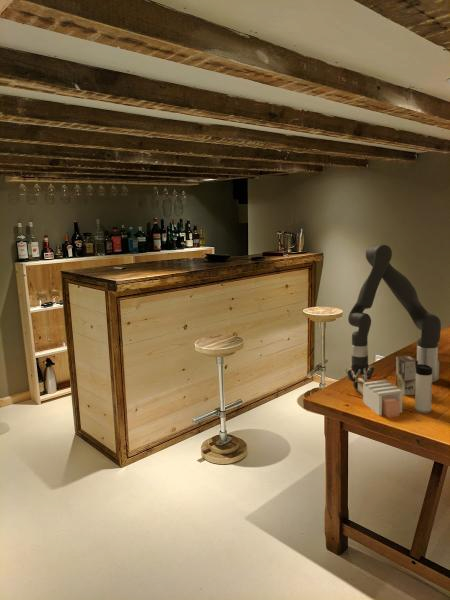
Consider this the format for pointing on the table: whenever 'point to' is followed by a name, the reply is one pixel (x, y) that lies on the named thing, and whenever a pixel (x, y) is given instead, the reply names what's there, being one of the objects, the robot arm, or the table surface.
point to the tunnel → (380, 394)
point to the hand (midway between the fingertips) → (360, 388)
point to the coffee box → (406, 374)
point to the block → (390, 407)
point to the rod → (360, 387)
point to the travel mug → (423, 388)
